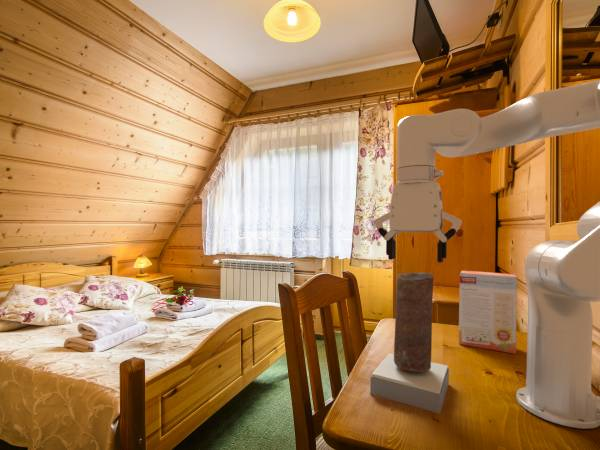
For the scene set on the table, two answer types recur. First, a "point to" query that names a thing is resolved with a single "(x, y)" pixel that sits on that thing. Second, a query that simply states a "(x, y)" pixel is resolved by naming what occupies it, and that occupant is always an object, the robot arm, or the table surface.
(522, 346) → the table surface
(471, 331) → the cracker box
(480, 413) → the table surface
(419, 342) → the candle
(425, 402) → the podium
